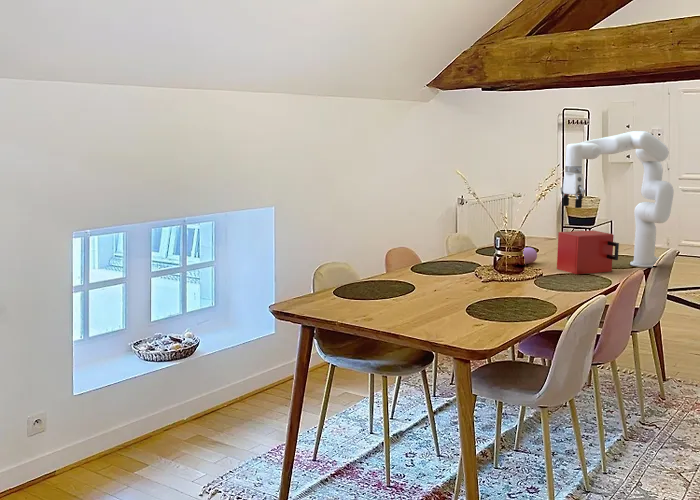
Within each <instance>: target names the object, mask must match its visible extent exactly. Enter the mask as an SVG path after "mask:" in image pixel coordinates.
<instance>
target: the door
mask: <svg viewBox="0 0 700 500" xmlns="http://www.w3.org/2000/svg"><path fill="white" fill-rule="evenodd" d="M610 234H611V235H593V236H577V247H576V267H575V274H574V275H584V274H586V275H587V274H597V273H609V272H612V271H613V261H619V250H620V249H619V248H620V242H615V241H614V238H615V234H613V233H610ZM613 254H614V255H613Z"/></svg>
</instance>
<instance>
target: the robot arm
mask: <svg viewBox="0 0 700 500" xmlns="http://www.w3.org/2000/svg"><path fill="white" fill-rule="evenodd" d="M631 150H635V156H636V158H637V159H638V160H639V161H640V163H641V165H642V167H643V176H642V182H641V183H642V184H641V189H640V194H641V197H642V198H643V199H647V200H650V201H642V202H639V203H638V204H636V206H635V207H634V212H633V213H634V220H635V230H634V232H635V233H634V244H633V245H634V247H633V260H631V261H630V262H629V265H630V266H633V267H636V268H637V267H638V268H654V267H653V265H654V264H655V263H657V262H658V261H657V260H658V259H659V258H660V257H661V256H658V257H657V256H656V254H655V253H656V242H657V241H656V240H657V227H656V224H664V223H666V222H667V221H668V220H669V218H670V216H671V212H672V206H673V200H674V195H675V193H674V191H675V190H674V186H673V185H672V184H671V182H669V181H667V180H663V172H664V168H663V165H662V162H664V161H666V160H667V159H668V157H669V153H670V152H669V148H668V146H667V145H666V144H665V143H664V142H663V141H661V140H660V139H659V138H657V137H656V136H655V135H654V134H652V133H650V132H649V131H646V130H632V131H627V132H623V133H619V134H614V135H610V136H604V137H601V138H600V137H599V138H595V139H590V140H589V139H588V140H585V141H581V142H578V143H568V144H567V145H566V147H565V167H564V176H563V182H562V183H563V184H562V186H561V187H560V194H561V197H562V204H561V206H562V207H569V205H570V196H575V198H576V199H575V200H574V201H575V202H574V208H575V209H582V205H583V199H584V197H585V193H586V190H585V186H584V184H585V183H584V181H585V180H584V174H583V160H596V159H597V158H599V156H601V155H614V154H615V155H616V154H619V153H622V152H626V151H631ZM651 200H652V202H651ZM653 201H654V202H653ZM656 261H657V262H656Z"/></svg>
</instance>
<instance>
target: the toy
mask: <svg viewBox="0 0 700 500" xmlns="http://www.w3.org/2000/svg"><path fill="white" fill-rule="evenodd" d="M523 248H524V251H523V254H524V259H525V265H527V264H533V263H535V261H536V260H537V259H538V253H537V251H536V249H534V248H533V247H523Z"/></svg>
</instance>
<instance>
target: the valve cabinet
mask: <svg viewBox="0 0 700 500" xmlns="http://www.w3.org/2000/svg"><path fill="white" fill-rule="evenodd" d="M611 234H612V233H609V232H605V231H604V232H603V231H599V230H574V231H559V232H558V234H557V254H556V255H557V256H556V269H557V270H560V271H563V272H567V273H570V274H574V275H576V274H575V267H576V247H577V236H593V235H611Z"/></svg>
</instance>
